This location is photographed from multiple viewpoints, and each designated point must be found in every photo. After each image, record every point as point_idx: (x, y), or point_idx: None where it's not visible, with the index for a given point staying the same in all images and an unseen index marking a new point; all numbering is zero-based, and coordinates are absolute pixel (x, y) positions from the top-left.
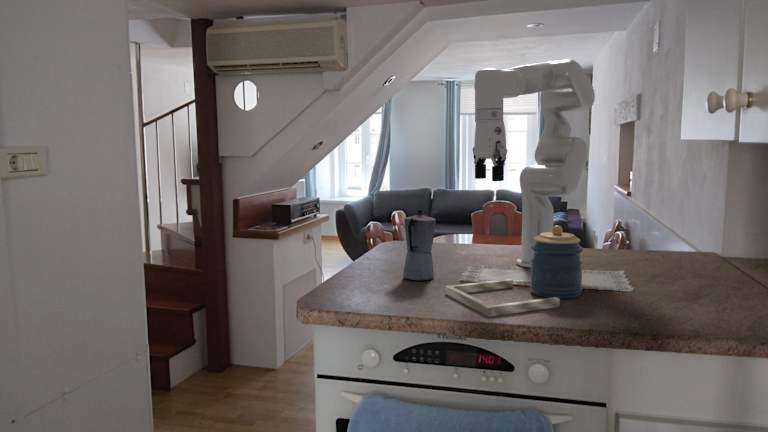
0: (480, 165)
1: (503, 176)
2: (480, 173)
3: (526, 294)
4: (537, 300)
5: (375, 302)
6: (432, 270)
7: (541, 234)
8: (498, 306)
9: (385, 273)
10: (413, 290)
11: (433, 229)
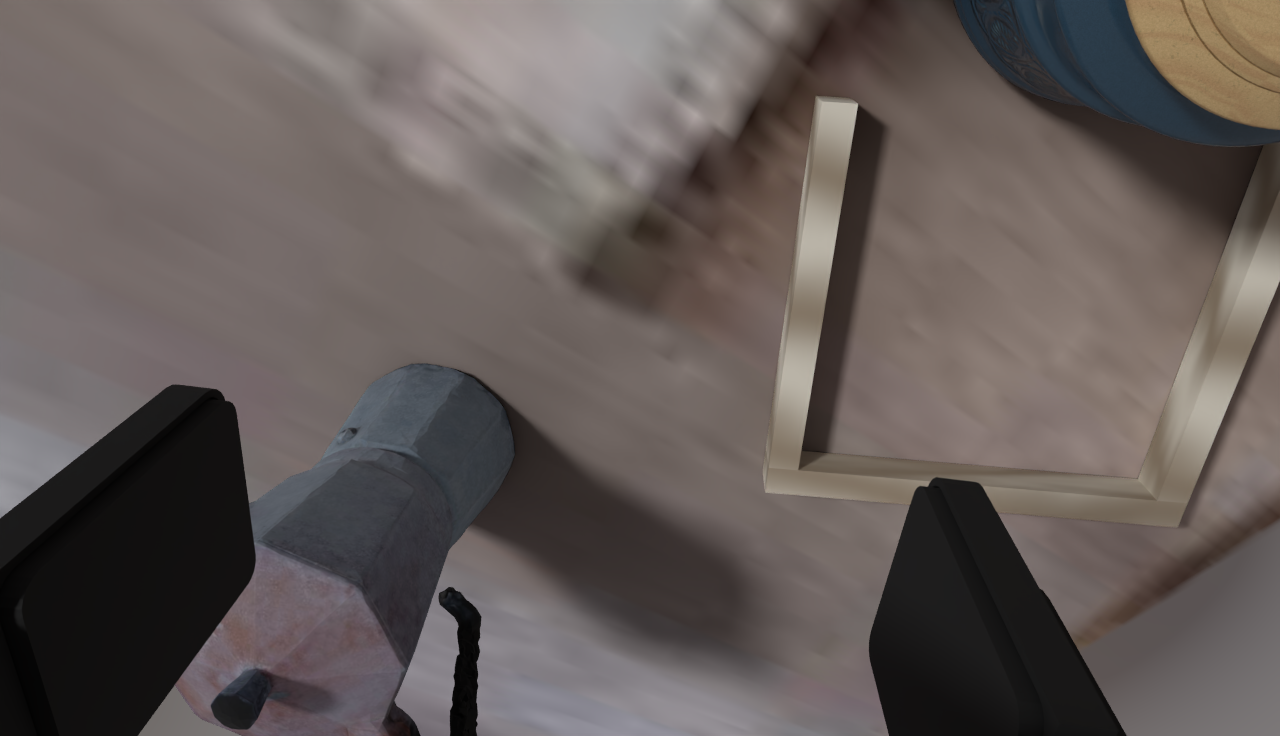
0: (67, 714)
1: (1000, 528)
2: (196, 565)
3: (1013, 124)
4: (1267, 269)
5: (732, 726)
6: (466, 406)
7: (1276, 48)
8: (1195, 482)
9: None
10: (641, 553)
11: (391, 556)
